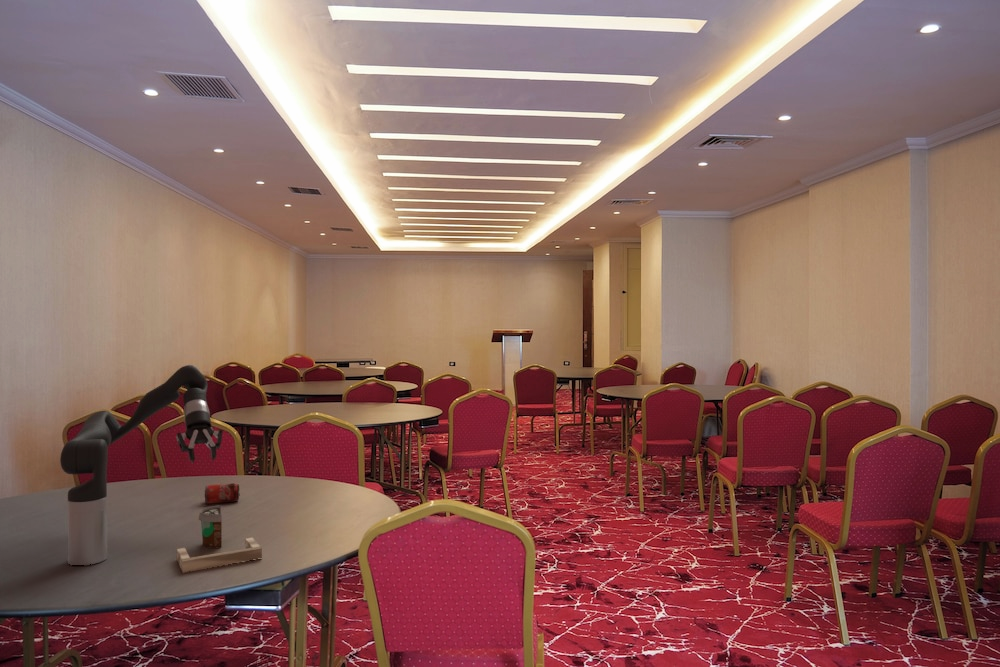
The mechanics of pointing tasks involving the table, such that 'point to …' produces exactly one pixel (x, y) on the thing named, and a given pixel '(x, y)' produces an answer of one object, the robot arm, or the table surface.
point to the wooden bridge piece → (219, 557)
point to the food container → (211, 526)
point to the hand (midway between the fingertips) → (203, 459)
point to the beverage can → (221, 493)
